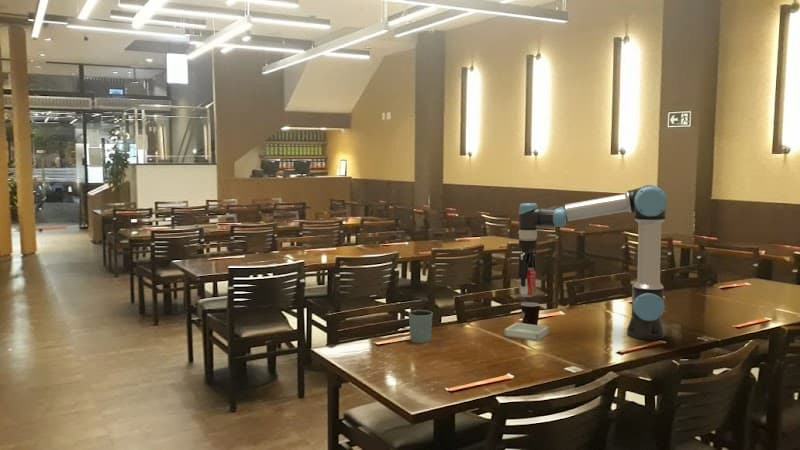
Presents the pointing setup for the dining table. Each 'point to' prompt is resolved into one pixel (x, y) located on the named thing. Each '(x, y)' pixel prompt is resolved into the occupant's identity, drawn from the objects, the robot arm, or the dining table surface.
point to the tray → (526, 331)
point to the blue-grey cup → (420, 326)
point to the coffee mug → (530, 313)
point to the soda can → (529, 283)
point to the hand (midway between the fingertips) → (527, 292)
